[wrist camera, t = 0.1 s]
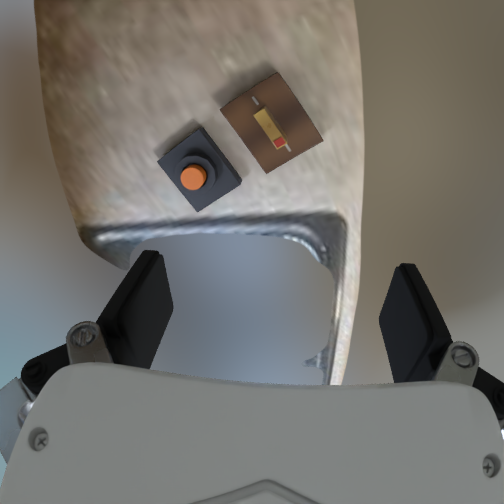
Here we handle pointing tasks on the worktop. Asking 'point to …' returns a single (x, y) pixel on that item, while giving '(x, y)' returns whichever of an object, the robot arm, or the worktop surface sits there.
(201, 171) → the bell button
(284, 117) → the plate
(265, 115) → the lock knob
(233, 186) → the doorbell
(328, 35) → the worktop surface
